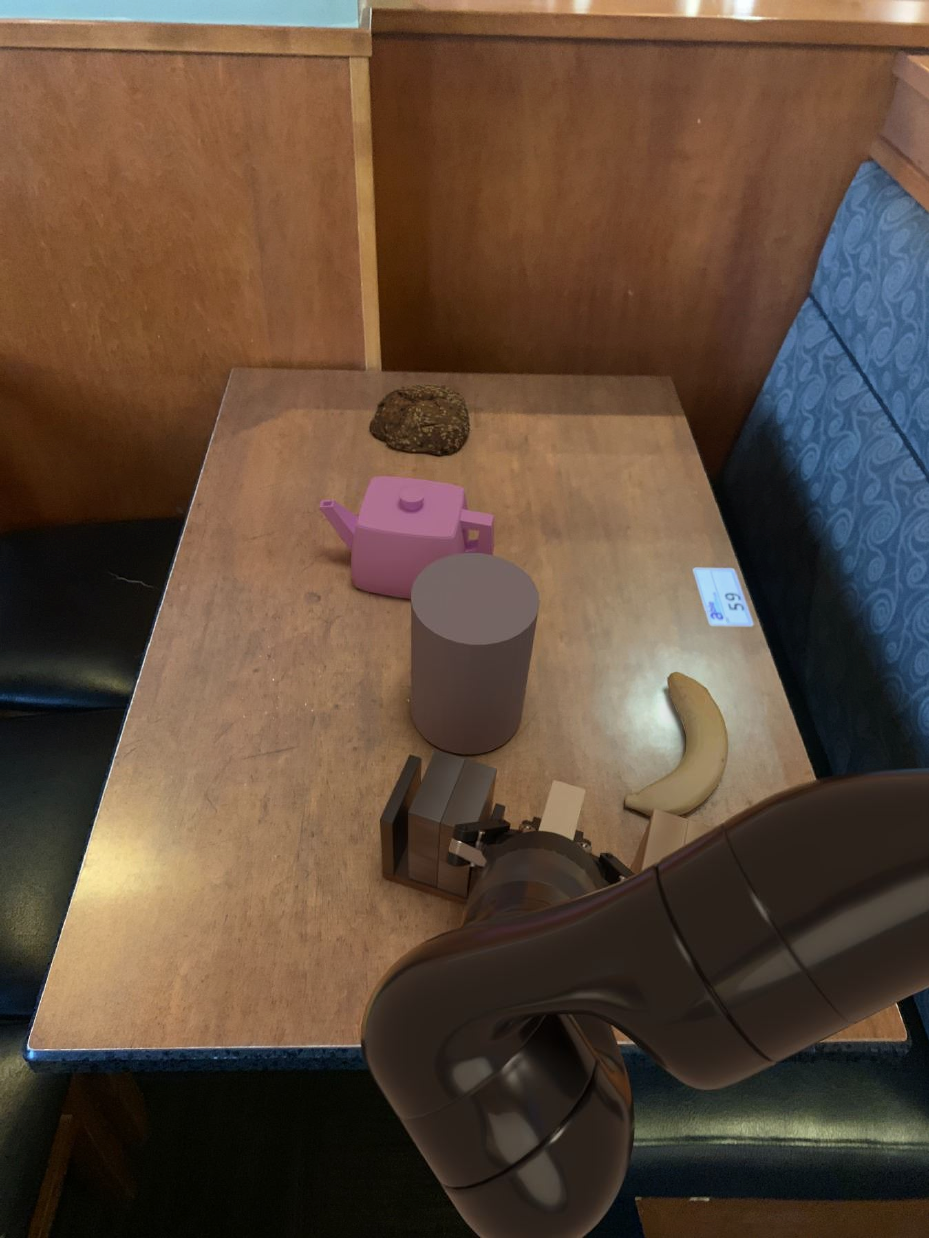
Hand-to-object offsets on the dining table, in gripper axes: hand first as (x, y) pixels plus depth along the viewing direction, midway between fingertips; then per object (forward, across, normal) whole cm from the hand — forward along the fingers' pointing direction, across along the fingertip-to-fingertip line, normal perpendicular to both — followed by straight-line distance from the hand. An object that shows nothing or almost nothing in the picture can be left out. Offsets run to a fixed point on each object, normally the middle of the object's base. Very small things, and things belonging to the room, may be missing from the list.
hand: (554, 836), depth 64 cm
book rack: (+3, 0, +5) cm, 6 cm away
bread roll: (+43, +30, -34) cm, 63 cm away
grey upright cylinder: (+14, +11, -5) cm, 18 cm away
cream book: (+2, 0, +5) cm, 5 cm away
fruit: (+15, -8, -7) cm, 18 cm away
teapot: (+25, +23, -16) cm, 38 cm away
